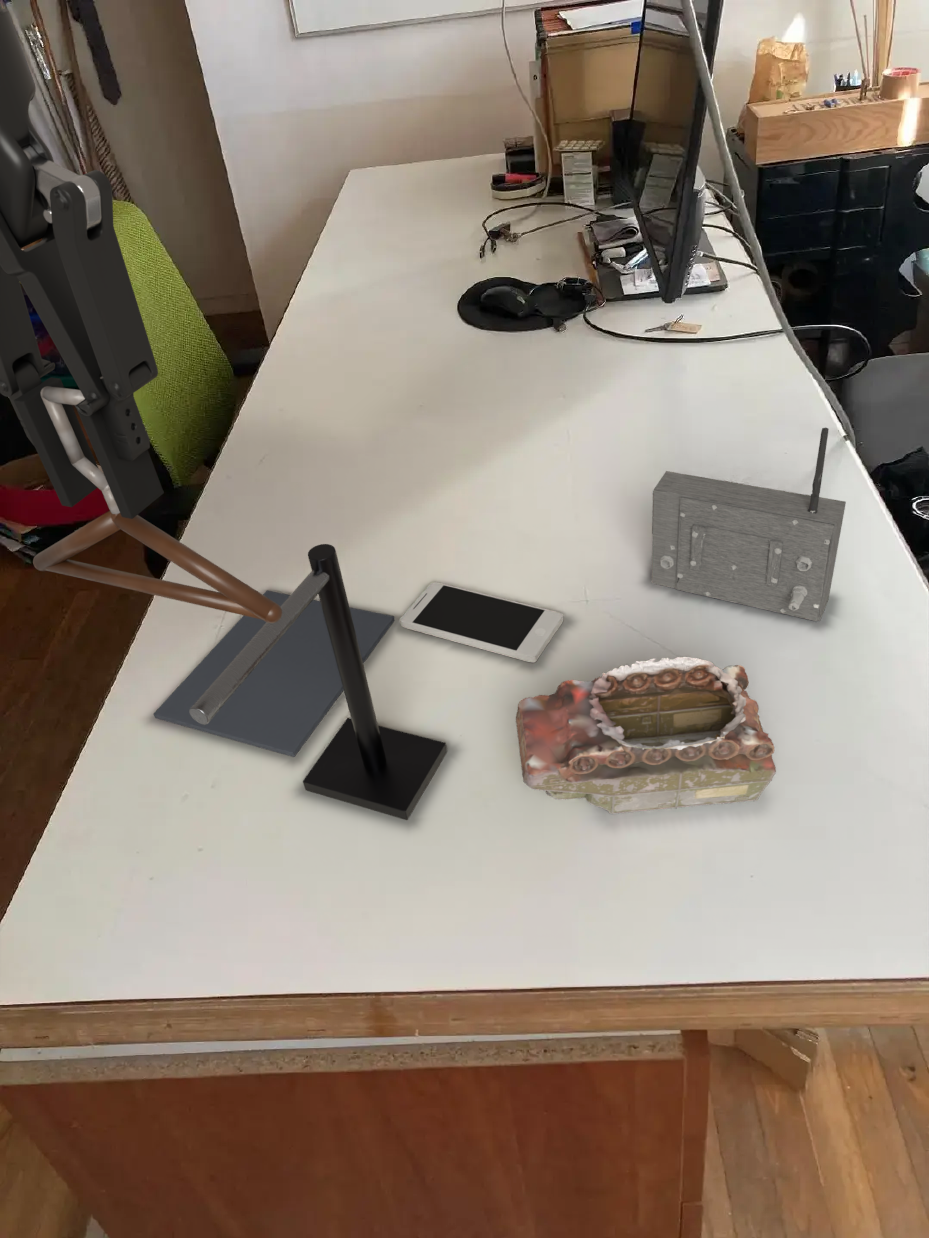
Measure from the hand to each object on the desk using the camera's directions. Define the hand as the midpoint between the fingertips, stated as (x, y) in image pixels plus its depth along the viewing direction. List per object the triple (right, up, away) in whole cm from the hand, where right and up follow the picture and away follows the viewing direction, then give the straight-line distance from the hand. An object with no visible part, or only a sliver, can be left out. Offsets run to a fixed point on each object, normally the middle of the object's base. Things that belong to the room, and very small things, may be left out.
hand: (112, 498), depth 52 cm
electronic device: (+47, -5, +42) cm, 63 cm away
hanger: (+1, -5, +4) cm, 7 cm away
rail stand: (+10, -24, +25) cm, 36 cm away
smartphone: (+22, -7, +43) cm, 48 cm away
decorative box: (+34, -21, +24) cm, 47 cm away
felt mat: (+1, -12, +41) cm, 43 cm away
